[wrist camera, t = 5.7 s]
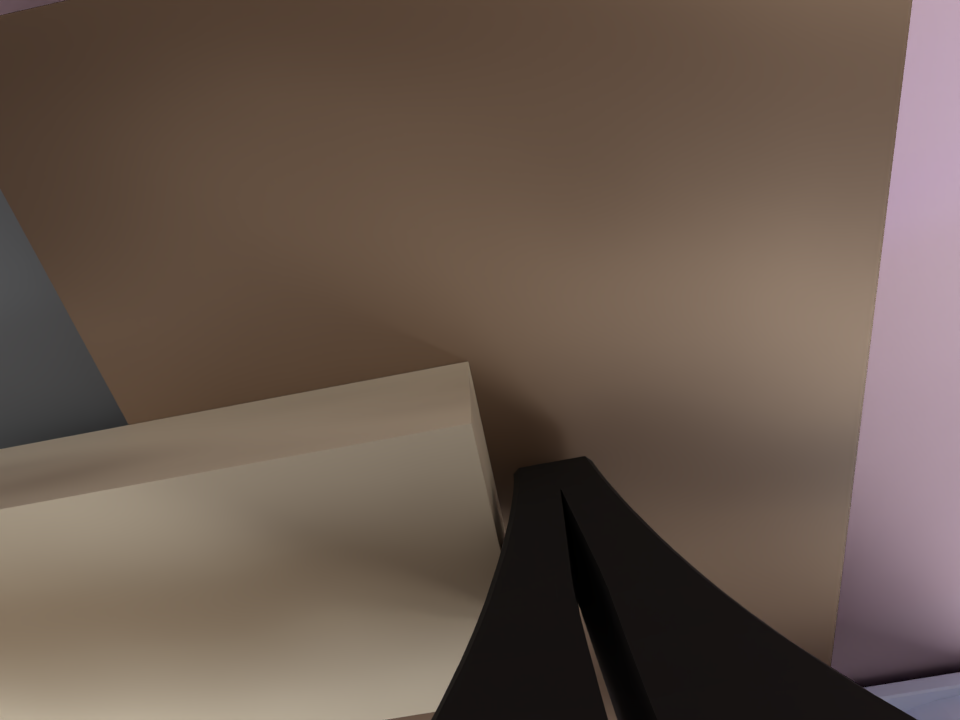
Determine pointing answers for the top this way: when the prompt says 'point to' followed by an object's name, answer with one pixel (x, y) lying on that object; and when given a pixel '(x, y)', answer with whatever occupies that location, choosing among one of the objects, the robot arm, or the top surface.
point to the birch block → (251, 558)
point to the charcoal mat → (42, 354)
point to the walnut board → (493, 234)
